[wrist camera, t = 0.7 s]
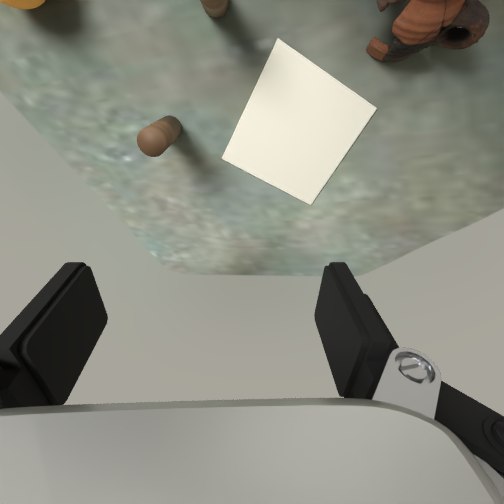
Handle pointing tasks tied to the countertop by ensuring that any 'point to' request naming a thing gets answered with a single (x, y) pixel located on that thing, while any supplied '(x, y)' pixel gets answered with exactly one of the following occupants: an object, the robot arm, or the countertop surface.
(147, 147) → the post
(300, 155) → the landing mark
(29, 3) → the ball
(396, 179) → the countertop surface
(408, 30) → the reddish brown arched figurine
